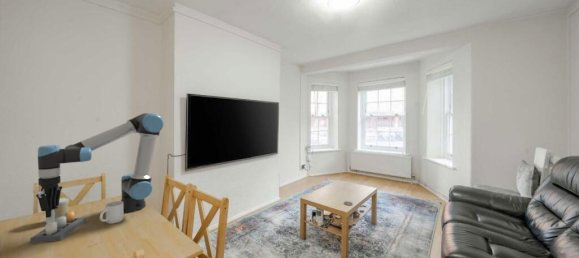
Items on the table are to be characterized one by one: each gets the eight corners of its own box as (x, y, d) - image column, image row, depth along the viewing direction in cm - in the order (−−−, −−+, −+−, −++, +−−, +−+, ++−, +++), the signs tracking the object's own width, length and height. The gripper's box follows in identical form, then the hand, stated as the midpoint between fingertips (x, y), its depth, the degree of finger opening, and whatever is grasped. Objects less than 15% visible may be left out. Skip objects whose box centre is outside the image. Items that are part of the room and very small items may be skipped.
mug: (104, 228, 124) (103, 210, 124) (95, 225, 127) (94, 207, 127) (126, 219, 135) (126, 202, 135) (118, 216, 139) (117, 200, 138)
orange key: (76, 219, 128) (76, 211, 128) (71, 222, 125) (71, 214, 124) (68, 220, 128) (67, 211, 127) (62, 223, 124) (62, 214, 123)
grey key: (68, 225, 122) (68, 216, 122) (62, 228, 118) (62, 219, 118) (59, 225, 121) (59, 216, 121) (53, 229, 117) (53, 220, 117)
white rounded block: (59, 231, 116) (58, 221, 116) (53, 235, 112) (52, 225, 112) (49, 231, 115) (49, 222, 115) (43, 235, 111) (43, 226, 111)
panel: (86, 221, 131) (86, 217, 131) (60, 240, 112) (60, 235, 111) (61, 223, 128) (61, 218, 128) (30, 242, 109) (30, 237, 109)
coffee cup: (74, 217, 135) (73, 198, 135) (56, 225, 126) (56, 204, 125) (60, 216, 136) (59, 197, 136) (42, 223, 127) (41, 203, 126)
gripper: (50, 173, 117) (51, 217, 118) (28, 180, 104) (29, 229, 106) (68, 172, 119) (68, 216, 120) (48, 179, 106) (49, 228, 108)
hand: (50, 222), depth 113 cm, fingers closed
